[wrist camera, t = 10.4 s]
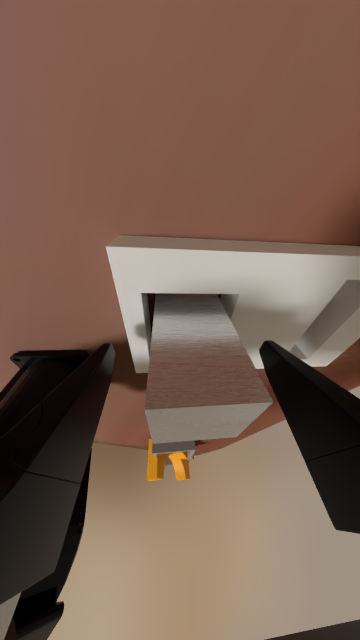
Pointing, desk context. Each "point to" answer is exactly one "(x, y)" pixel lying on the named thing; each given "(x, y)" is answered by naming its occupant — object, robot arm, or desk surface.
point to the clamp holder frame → (174, 449)
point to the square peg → (199, 372)
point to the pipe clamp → (158, 463)
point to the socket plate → (245, 291)
